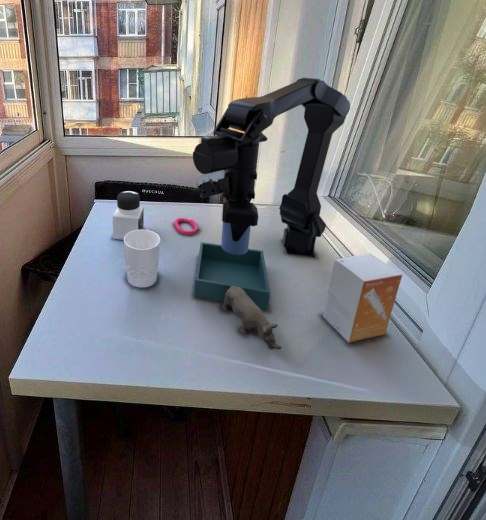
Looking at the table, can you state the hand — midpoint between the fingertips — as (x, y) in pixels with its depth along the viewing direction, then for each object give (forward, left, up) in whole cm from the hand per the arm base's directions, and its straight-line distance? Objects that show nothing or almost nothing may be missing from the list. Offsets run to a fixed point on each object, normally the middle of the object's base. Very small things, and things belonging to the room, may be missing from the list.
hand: (235, 233), depth 71 cm
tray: (0, +1, -12) cm, 12 cm away
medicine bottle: (+27, -12, -12) cm, 32 cm away
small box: (-22, +8, -12) cm, 26 cm away
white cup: (+19, +5, -12) cm, 23 cm away
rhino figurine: (-3, +14, -12) cm, 18 cm away
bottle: (0, 0, -3) cm, 3 cm away
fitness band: (+12, -19, -12) cm, 26 cm away
